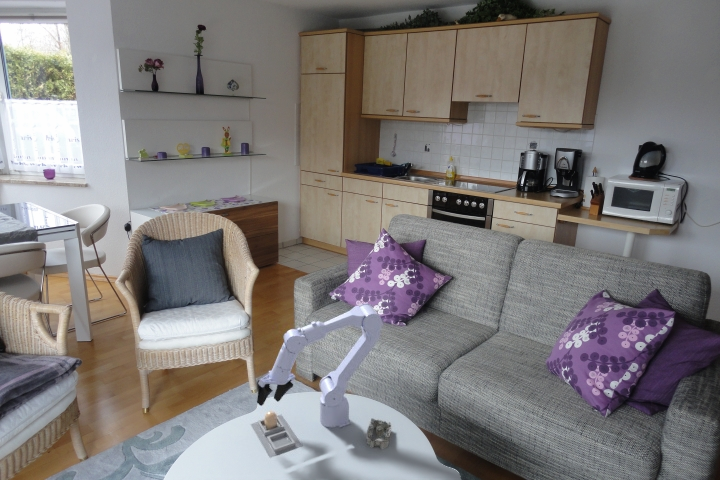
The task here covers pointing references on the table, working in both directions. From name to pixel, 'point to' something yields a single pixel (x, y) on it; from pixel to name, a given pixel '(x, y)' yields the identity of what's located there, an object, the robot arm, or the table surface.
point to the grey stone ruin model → (378, 433)
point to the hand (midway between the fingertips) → (268, 401)
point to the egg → (270, 420)
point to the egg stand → (276, 437)
